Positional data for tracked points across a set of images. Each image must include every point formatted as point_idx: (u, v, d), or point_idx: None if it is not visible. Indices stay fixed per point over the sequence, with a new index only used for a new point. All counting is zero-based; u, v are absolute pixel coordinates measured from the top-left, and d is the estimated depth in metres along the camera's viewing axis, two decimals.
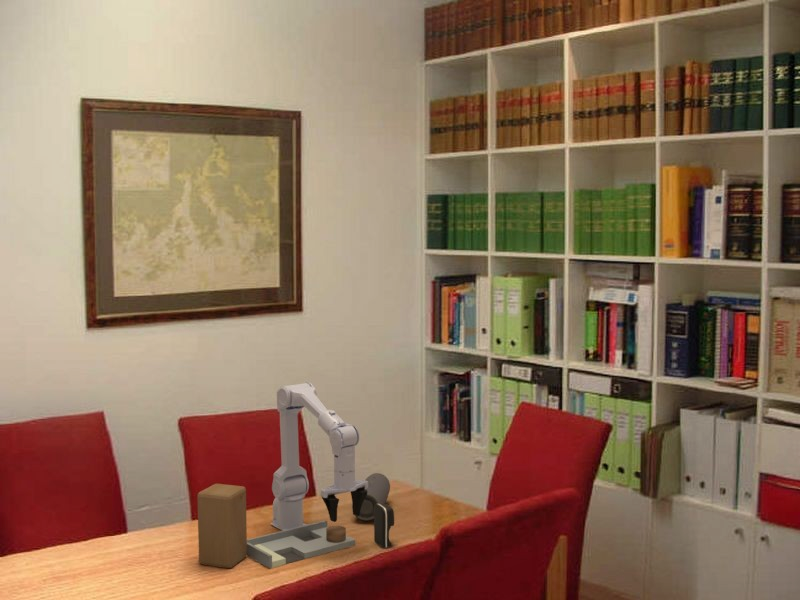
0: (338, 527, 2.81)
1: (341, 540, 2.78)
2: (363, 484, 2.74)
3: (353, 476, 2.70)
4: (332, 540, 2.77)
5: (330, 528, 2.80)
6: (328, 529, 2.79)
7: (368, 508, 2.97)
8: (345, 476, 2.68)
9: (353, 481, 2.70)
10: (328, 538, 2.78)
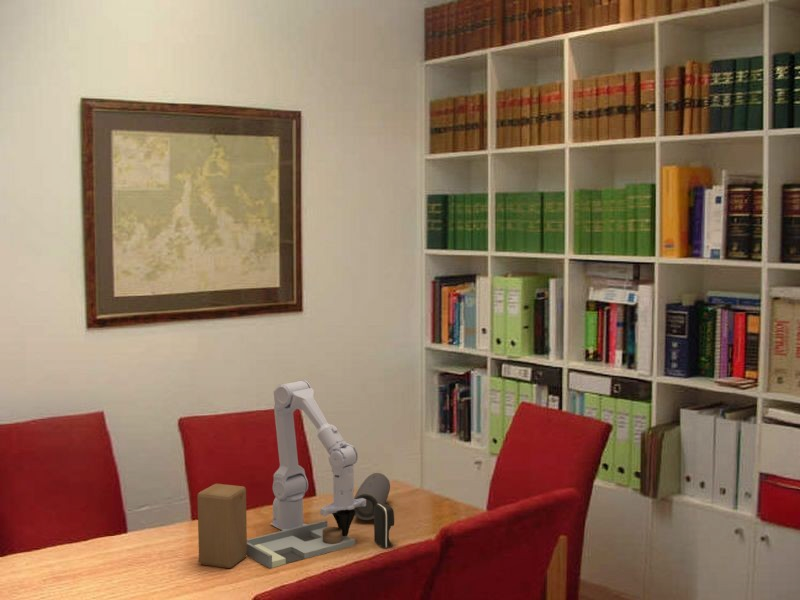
0: (334, 528, 2.80)
1: (338, 541, 2.77)
2: (361, 502, 2.83)
3: (352, 495, 2.79)
4: (329, 541, 2.76)
5: (326, 529, 2.79)
6: (324, 530, 2.78)
7: (368, 508, 2.97)
8: (344, 495, 2.77)
9: (352, 500, 2.79)
10: (325, 539, 2.77)
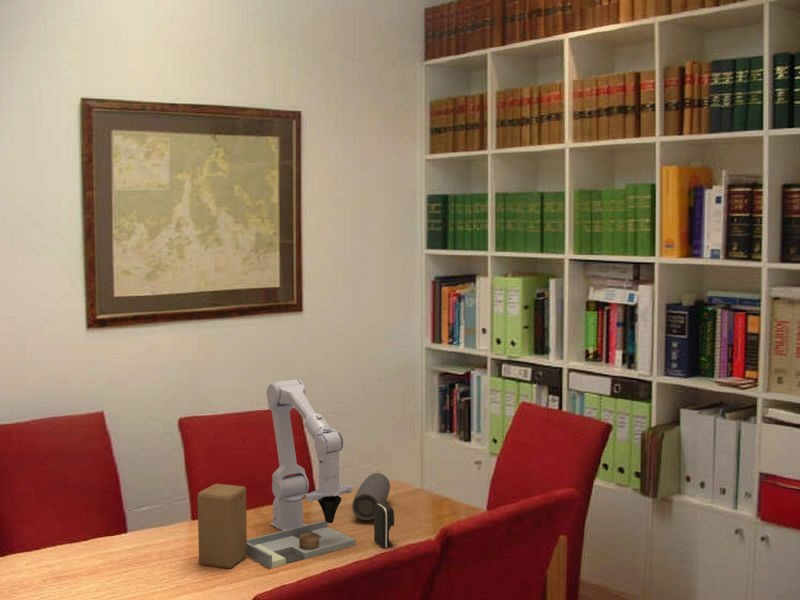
0: (311, 534, 2.75)
1: (314, 547, 2.72)
2: (347, 489, 2.79)
3: (337, 481, 2.75)
4: (305, 547, 2.72)
5: (303, 535, 2.74)
6: (301, 536, 2.74)
7: (368, 508, 2.97)
8: (329, 481, 2.74)
9: (337, 486, 2.76)
10: (301, 545, 2.72)
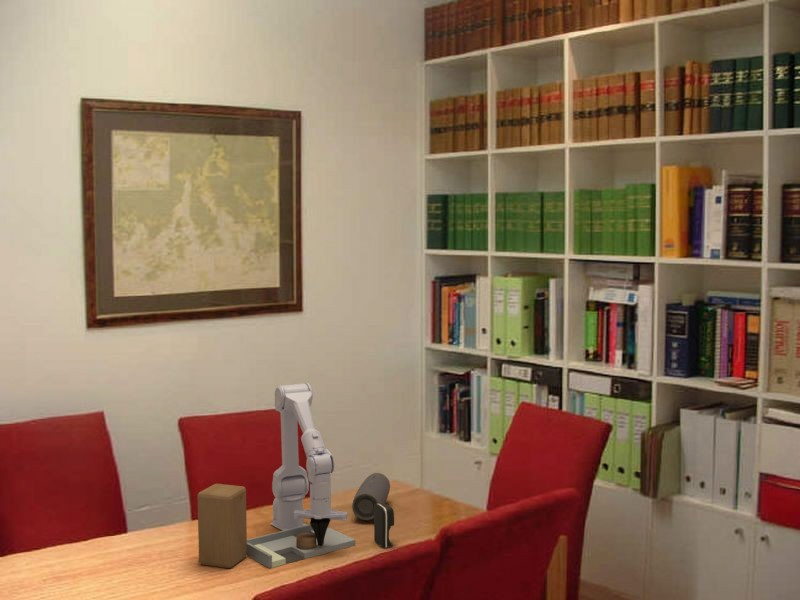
0: (308, 534, 2.75)
1: (311, 547, 2.72)
2: (339, 515, 2.71)
3: (322, 505, 2.70)
4: (302, 547, 2.72)
5: (300, 535, 2.75)
6: (298, 536, 2.74)
7: (368, 508, 2.97)
8: (313, 502, 2.71)
9: (322, 509, 2.70)
10: (298, 545, 2.73)
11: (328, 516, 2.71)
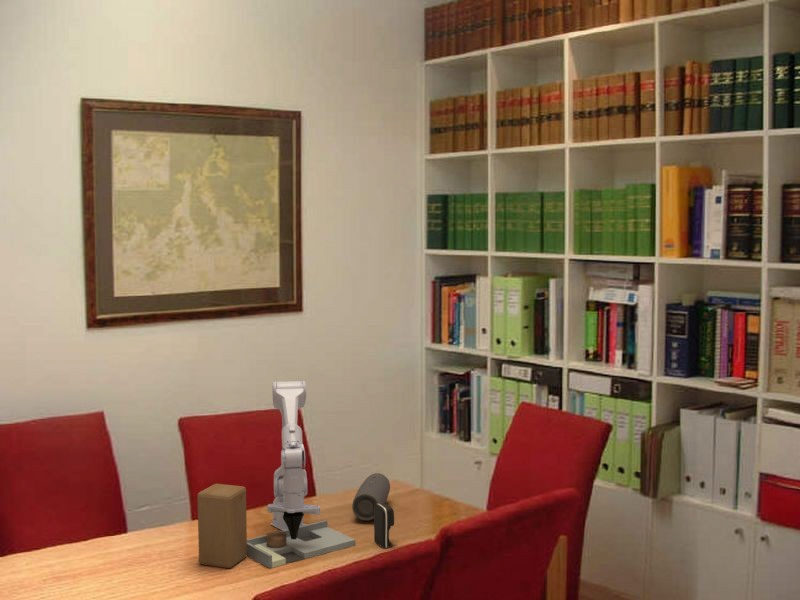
0: (279, 532, 2.77)
1: (281, 546, 2.73)
2: (312, 509, 2.72)
3: (295, 498, 2.71)
4: (271, 545, 2.73)
5: (270, 533, 2.76)
6: (268, 534, 2.75)
7: (368, 508, 2.97)
8: (286, 496, 2.71)
9: (295, 503, 2.71)
10: (268, 543, 2.74)
11: (301, 510, 2.71)
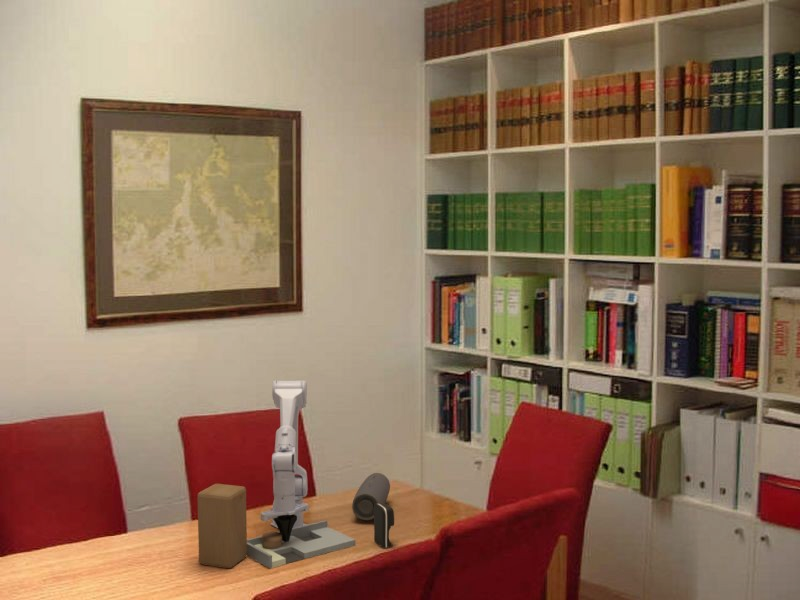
0: (275, 533, 2.76)
1: (276, 547, 2.73)
2: (303, 507, 2.79)
3: (293, 500, 2.75)
4: (267, 546, 2.72)
5: (266, 534, 2.75)
6: (264, 535, 2.74)
7: (368, 508, 2.97)
8: (285, 500, 2.73)
9: (293, 504, 2.75)
10: (263, 544, 2.73)
11: (297, 510, 2.76)
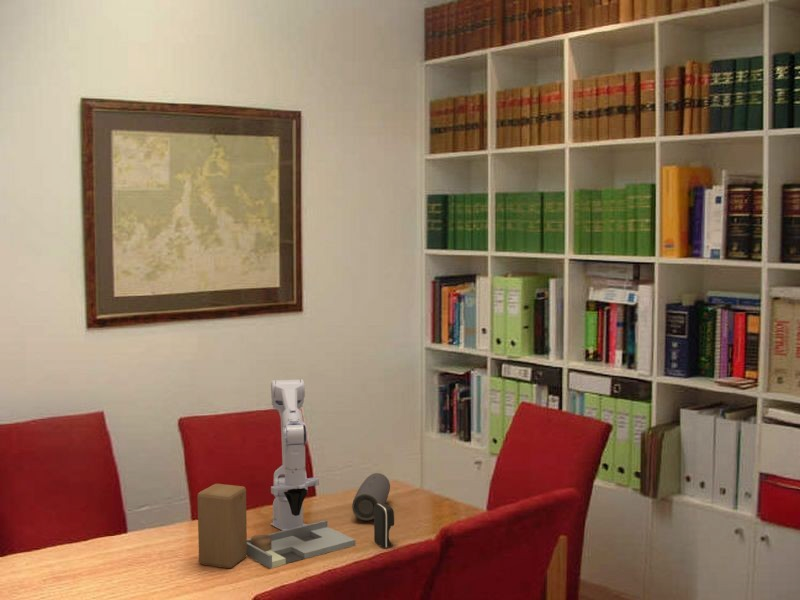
0: (264, 536, 2.74)
1: (265, 549, 2.70)
2: (314, 481, 2.78)
3: (303, 473, 2.74)
4: None
5: (255, 537, 2.73)
6: (253, 538, 2.72)
7: (368, 508, 2.97)
8: (295, 473, 2.72)
9: (303, 478, 2.74)
10: None
11: (307, 484, 2.75)
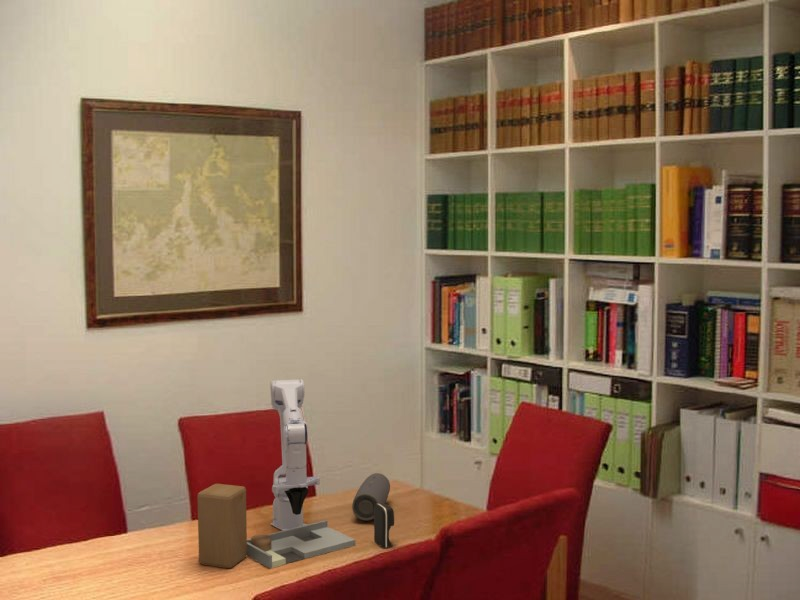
0: (264, 536, 2.74)
1: (265, 549, 2.70)
2: (315, 480, 2.78)
3: (304, 472, 2.74)
4: None
5: (255, 537, 2.73)
6: (253, 538, 2.72)
7: (368, 508, 2.97)
8: (296, 472, 2.73)
9: (304, 477, 2.74)
10: None
11: (308, 483, 2.76)
